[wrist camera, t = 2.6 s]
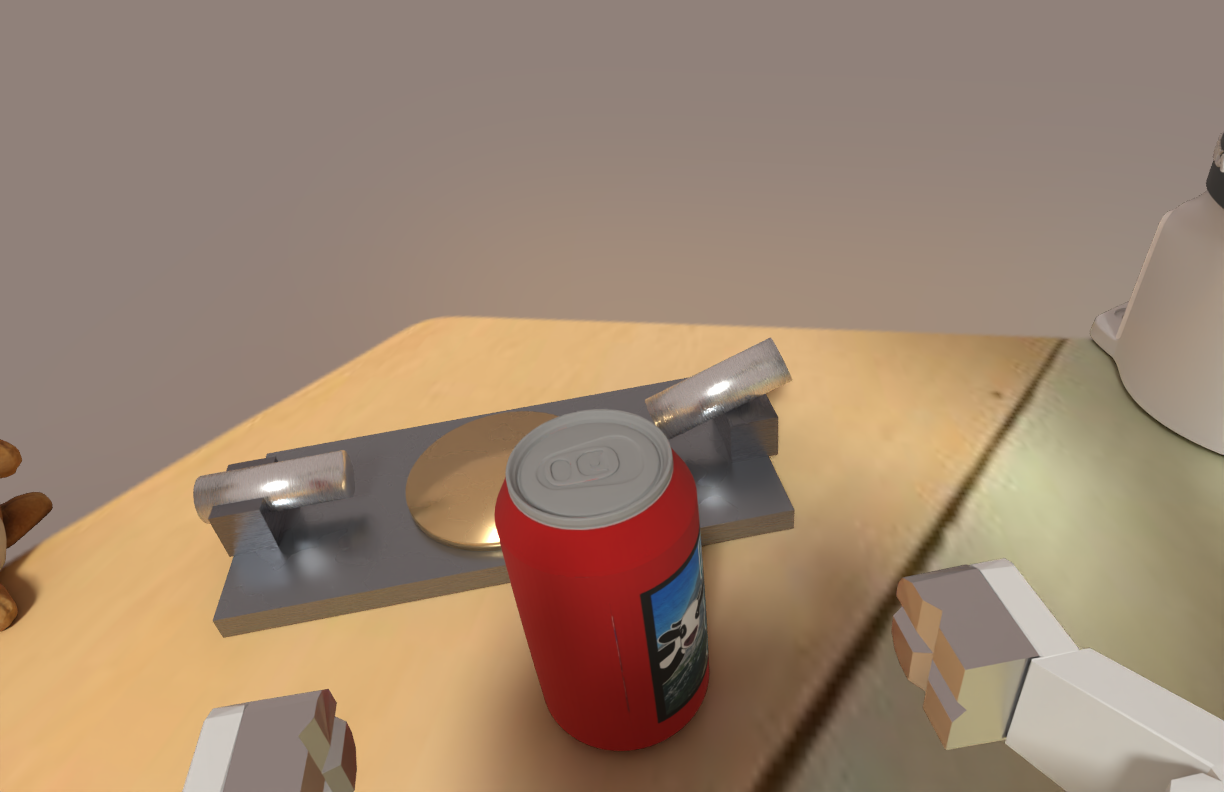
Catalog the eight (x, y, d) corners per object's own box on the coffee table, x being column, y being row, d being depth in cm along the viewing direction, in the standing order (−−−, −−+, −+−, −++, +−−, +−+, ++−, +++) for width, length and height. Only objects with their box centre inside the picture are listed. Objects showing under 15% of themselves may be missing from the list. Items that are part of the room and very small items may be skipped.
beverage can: (733, 739, 30) (723, 508, 23) (556, 783, 29) (489, 560, 22) (686, 600, 35) (665, 380, 28) (536, 635, 35) (477, 419, 28)
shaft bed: (755, 382, 48) (753, 282, 44) (828, 521, 38) (835, 409, 34) (257, 472, 46) (210, 378, 42) (201, 641, 36) (133, 539, 33)
